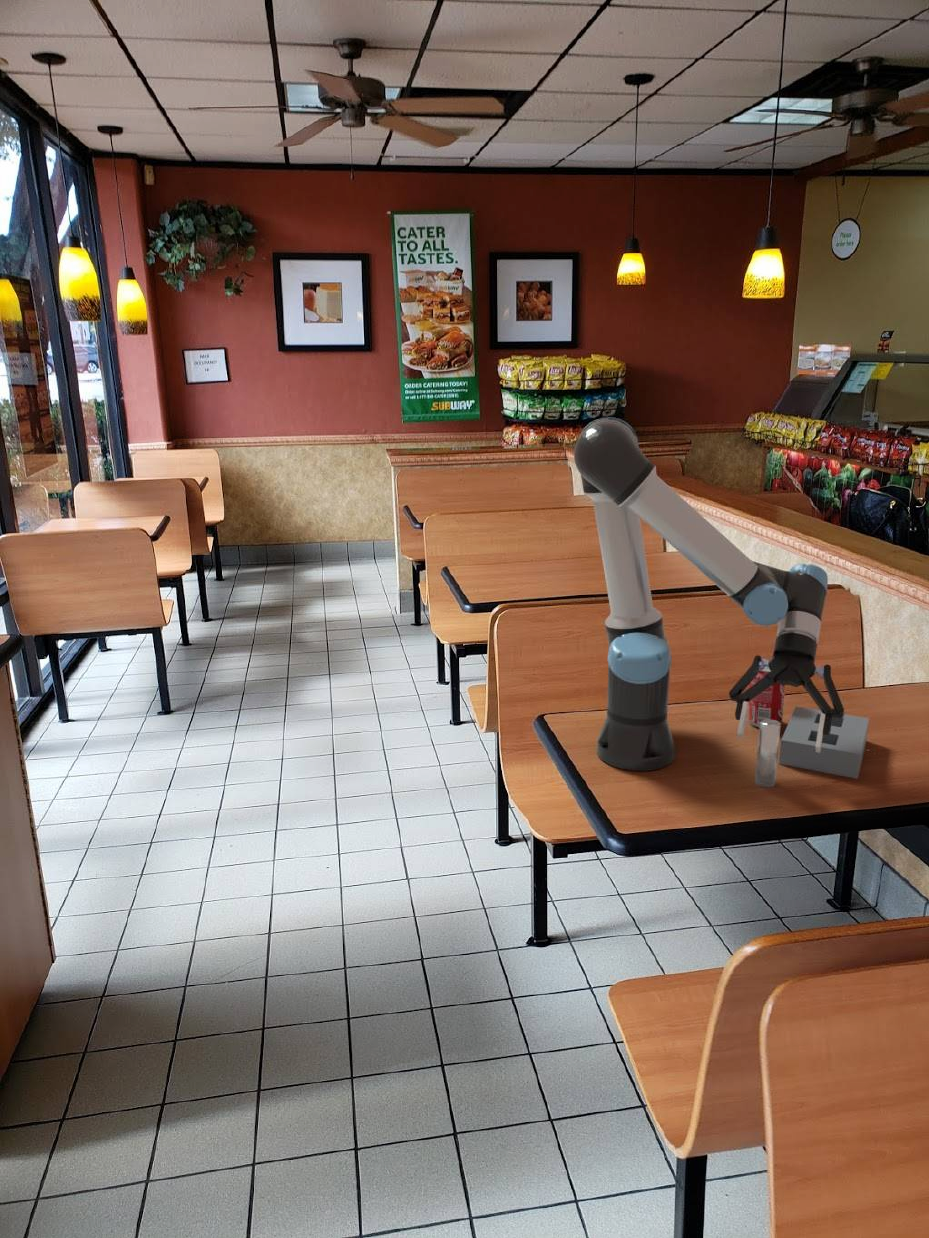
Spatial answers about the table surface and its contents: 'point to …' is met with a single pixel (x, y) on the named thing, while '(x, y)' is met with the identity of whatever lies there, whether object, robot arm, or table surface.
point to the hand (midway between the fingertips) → (778, 743)
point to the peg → (767, 752)
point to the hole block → (824, 743)
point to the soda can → (766, 702)
